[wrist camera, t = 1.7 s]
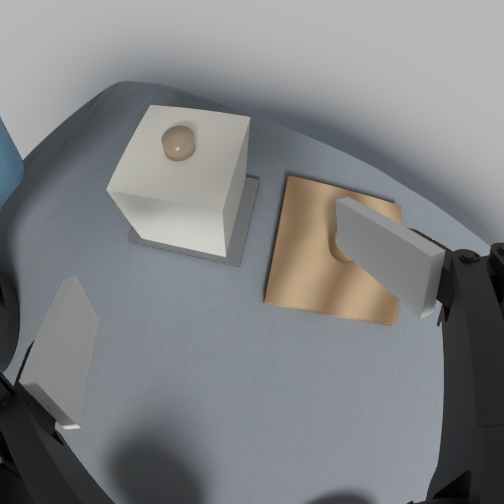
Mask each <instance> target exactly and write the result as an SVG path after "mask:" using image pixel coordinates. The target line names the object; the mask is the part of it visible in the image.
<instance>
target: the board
mask: <svg viewBox="0 0 504 504" xmlns="http://www.w3.org/2000/svg"><path fill="white" fill-rule="evenodd" d="M345 197H349V198H351V199H353V200H355V201H357V202H359V203H361V204H363V205H365V206H367V207H369V208H371V209H373V210H375V211H377V212H379V213H381V214H383V215H384V216H386V217H388V218H390V219H392V220H394V221H395V222H397V223H399V224H401V206H400V205H397V204H394V203H391V202H387V201H384V200H381V199H377V198H374V197H371V196H367V195H364V194H360V193H357V192H353V191H349V190H346V189H342V188H338V187H335V186H331V185H327V184H323V183H319V182H315V181H311V180H307V179H303V178H298V177H294V176H290V175H288V178H287V182H286V188H285V193H284V199H283V204H282V210H281V215H280V220H279V226H278V231H277V236H276V242H275V247H274V252H273V257H272V262H271V267H270V273H269V278H268V283H267V288H266V293H265V298H264V303H268V304H272V305H277V306H282V307H287V308H292V309H298V310H303V311H308V312H313V313H319V314H324V315H330V316H335V317H341V318H347V319H353V320H359V321H365V322H371V323H377V324H384V325H390V326H392V325H397V318H398V307H399V300H398V299H397V298H396V297H395V296H394V295H393V294H392V293H390V292H389V291H388V290H387V289H386V288H385V287H384V286H382V285H381V284H380V283H379V282H378V281H377V280H375V279H374V278H373V277H372V276H371V275H370V274H368V273H367V272H366V271H365V270H364V269H363V268H361V267H360V266H359V265H358V264H357V263H355V262H354V261H352V262H349V263H342V262H339V261H337V260H336V259H335V258H334V257H333V256H332V255H331V253H330V251H329V240H330V238H331V237H332V235H333V234H334V233H335V232H336V230H337V215H336V202H335V200H337V199H341V198H345Z"/></svg>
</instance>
